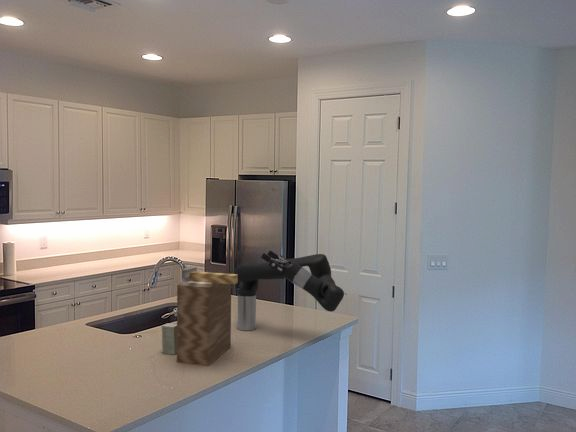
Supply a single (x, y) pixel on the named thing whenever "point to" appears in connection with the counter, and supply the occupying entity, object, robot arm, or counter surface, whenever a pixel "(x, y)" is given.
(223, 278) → the wood block with plate
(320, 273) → the robot arm
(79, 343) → the counter surface
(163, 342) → the skincare box
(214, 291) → the zigzag wood block
